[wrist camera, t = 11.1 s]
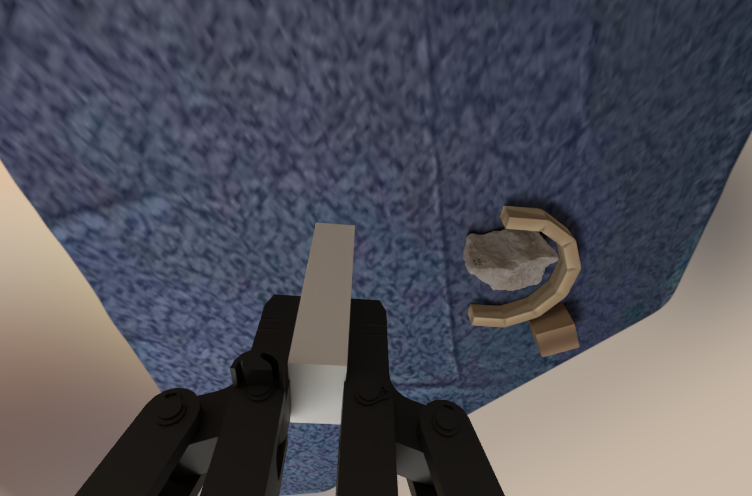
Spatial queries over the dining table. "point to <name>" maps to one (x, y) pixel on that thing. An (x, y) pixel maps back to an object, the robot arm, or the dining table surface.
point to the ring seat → (546, 293)
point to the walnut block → (554, 331)
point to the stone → (508, 258)
